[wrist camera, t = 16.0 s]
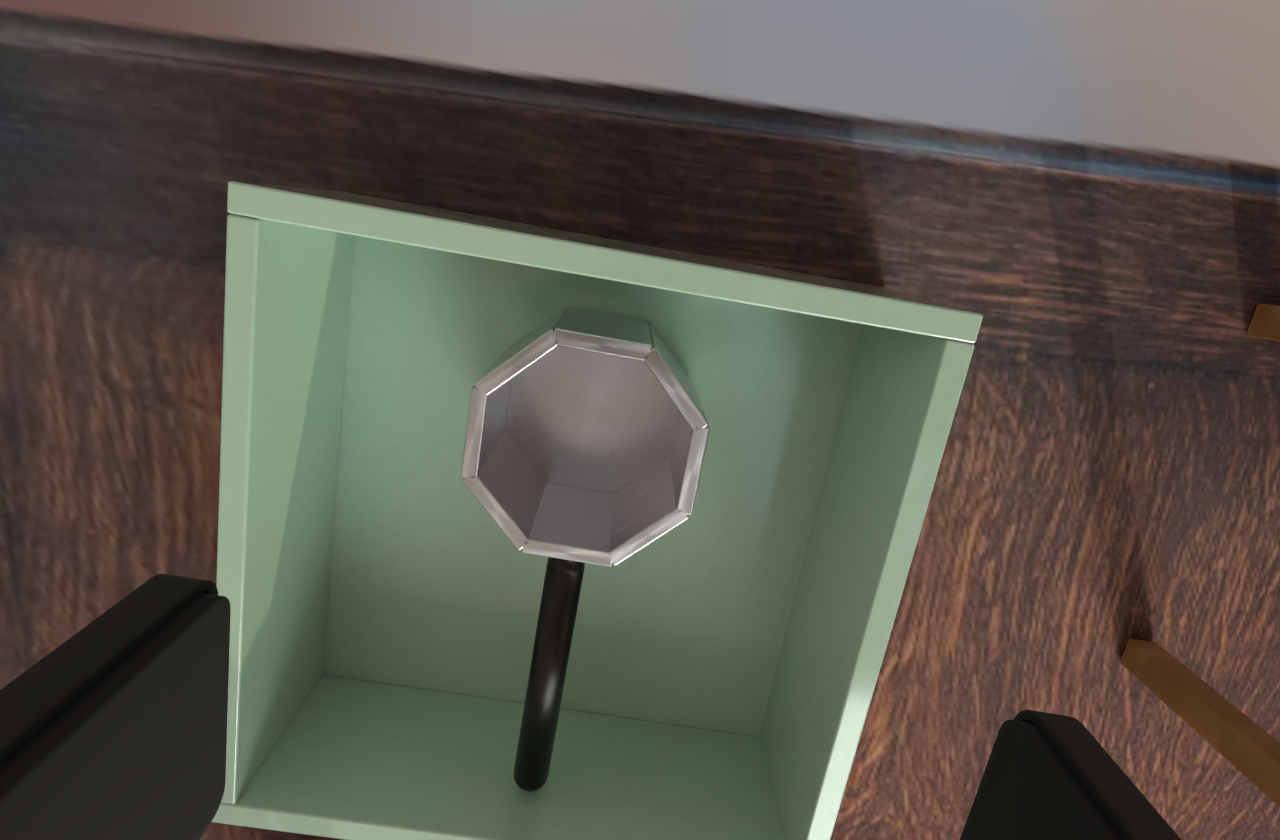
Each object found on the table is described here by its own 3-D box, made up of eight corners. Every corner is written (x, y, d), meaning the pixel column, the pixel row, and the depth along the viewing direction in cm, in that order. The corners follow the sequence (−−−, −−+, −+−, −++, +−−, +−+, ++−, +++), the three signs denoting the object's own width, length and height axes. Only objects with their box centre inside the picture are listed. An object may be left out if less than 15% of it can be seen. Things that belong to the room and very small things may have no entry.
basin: (343, 191, 26) (226, 180, 18) (886, 287, 27) (984, 314, 20) (310, 676, 31) (208, 822, 23) (770, 741, 32) (812, 902, 25)
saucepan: (511, 294, 26) (480, 314, 21) (706, 329, 27) (725, 357, 21) (459, 688, 30) (421, 789, 25) (628, 712, 31) (627, 818, 25)
